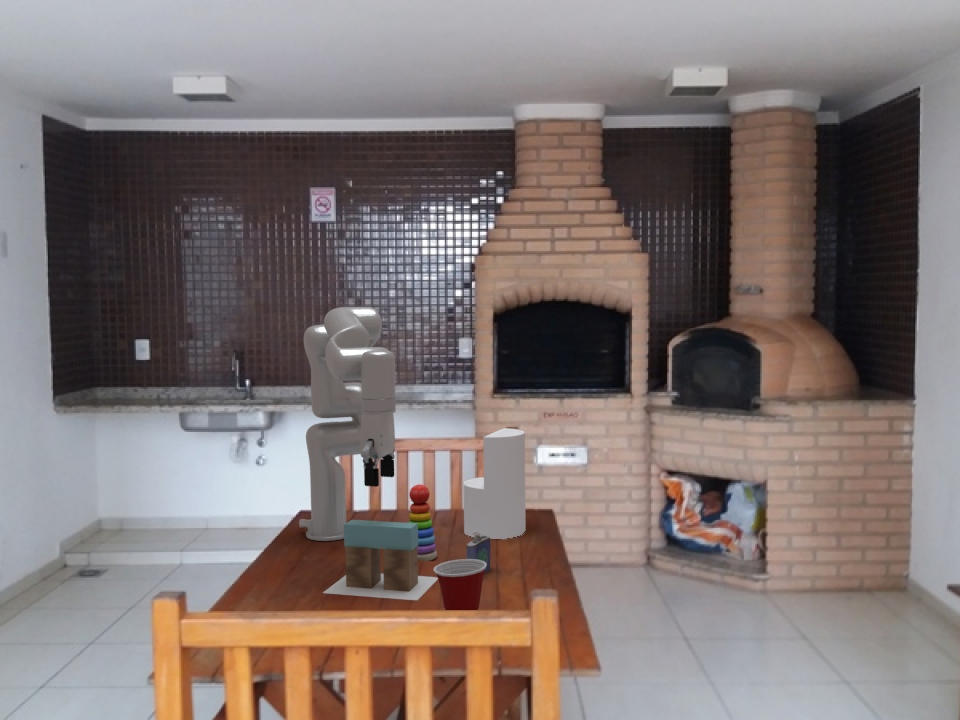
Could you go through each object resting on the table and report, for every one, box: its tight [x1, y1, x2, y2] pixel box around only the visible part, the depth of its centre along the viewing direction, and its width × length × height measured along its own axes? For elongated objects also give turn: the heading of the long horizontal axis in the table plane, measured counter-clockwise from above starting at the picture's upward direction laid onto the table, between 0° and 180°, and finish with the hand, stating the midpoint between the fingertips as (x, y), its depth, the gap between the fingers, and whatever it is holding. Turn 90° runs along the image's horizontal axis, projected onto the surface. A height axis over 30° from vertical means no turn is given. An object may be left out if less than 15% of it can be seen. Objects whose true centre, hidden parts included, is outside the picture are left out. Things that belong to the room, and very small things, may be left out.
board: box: [322, 572, 438, 601], centre depth 202 cm, size 22×16×1 cm
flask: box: [466, 532, 491, 574], centre depth 209 cm, size 9×3×11 cm, turn 151°
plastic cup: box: [433, 558, 487, 611], centre depth 180 cm, size 11×11×12 cm
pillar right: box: [382, 547, 419, 592], centre depth 200 cm, size 6×6×9 cm
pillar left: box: [344, 546, 382, 589], centre depth 202 cm, size 6×6×9 cm
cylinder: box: [463, 427, 527, 540], centre depth 249 cm, size 17×17×28 cm
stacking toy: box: [408, 483, 438, 562], centre depth 225 cm, size 8×8×19 cm
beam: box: [343, 519, 418, 551], centre depth 201 cm, size 16×4×5 cm, turn 75°
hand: (379, 481), depth 200 cm, fingers open, 9 cm apart
